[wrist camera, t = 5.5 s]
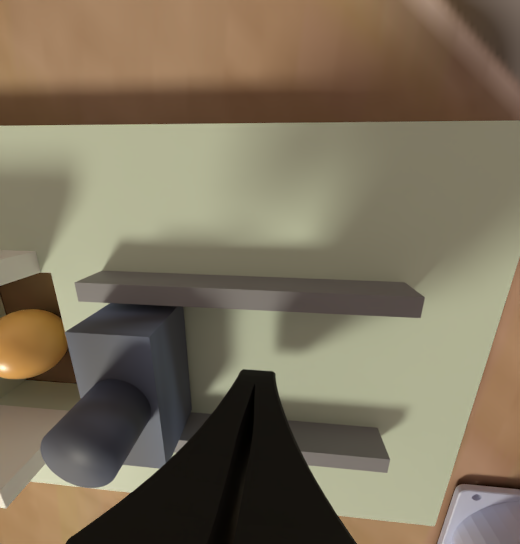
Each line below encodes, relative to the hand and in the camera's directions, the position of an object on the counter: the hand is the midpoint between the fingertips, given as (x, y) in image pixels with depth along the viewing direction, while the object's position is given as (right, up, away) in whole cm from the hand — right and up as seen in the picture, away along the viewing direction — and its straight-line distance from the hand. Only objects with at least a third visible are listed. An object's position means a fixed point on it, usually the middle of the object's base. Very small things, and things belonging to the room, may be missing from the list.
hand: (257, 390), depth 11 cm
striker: (-5, +1, +2) cm, 5 cm away
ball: (-12, +1, +3) cm, 12 cm away
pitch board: (-4, +1, +4) cm, 6 cm away
